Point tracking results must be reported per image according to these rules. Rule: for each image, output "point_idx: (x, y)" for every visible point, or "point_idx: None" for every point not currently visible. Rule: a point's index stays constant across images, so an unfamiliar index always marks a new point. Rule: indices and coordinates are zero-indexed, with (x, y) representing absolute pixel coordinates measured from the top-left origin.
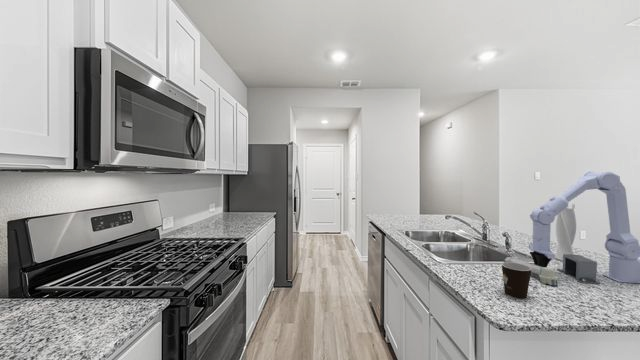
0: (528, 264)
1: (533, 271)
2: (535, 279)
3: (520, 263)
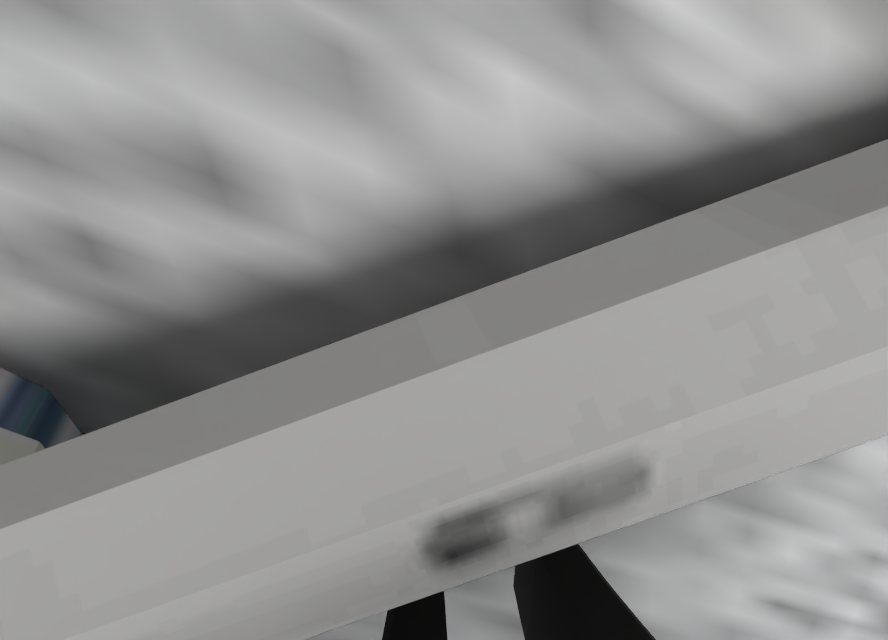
0: (452, 463)
1: (187, 406)
2: (101, 307)
3: (759, 287)
